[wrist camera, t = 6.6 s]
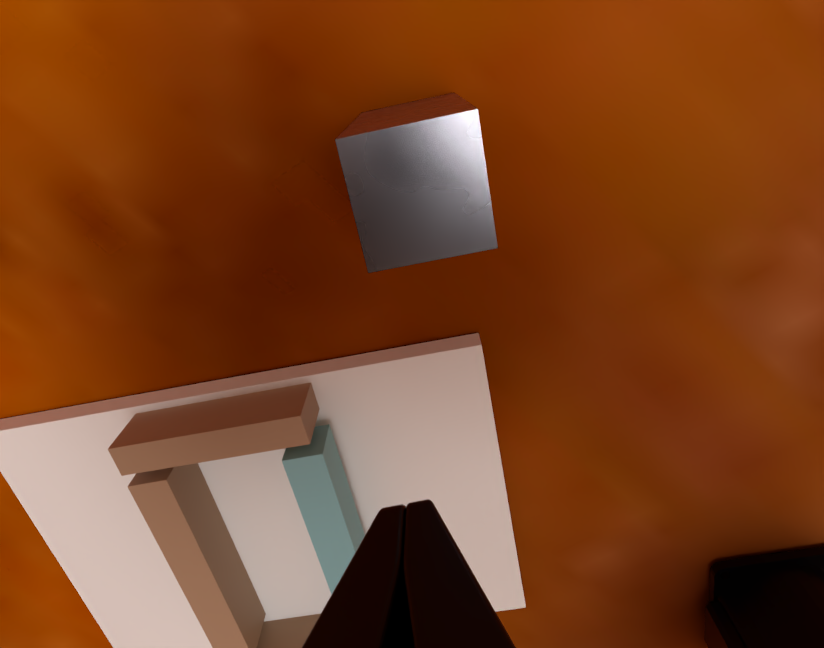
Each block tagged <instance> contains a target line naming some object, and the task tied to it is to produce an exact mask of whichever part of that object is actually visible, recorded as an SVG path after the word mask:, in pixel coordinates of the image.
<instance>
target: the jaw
mask: <svg viewBox="0 0 824 648" xmlns="http://www.w3.org/2000/svg"><path fill="white" fill-rule="evenodd" d="M282 463H283V466H284V469H285V471H286V474H287V477H288V479H289V482H290V485H291V487H292V490H293V493H294V495H295V498H296V501H297V503H298V506H299V509H300V511H301V514H302V517H303V520H304V522H305V525H306V528H307V530H308V533H309V536H310V538H311V541H312V544H313V546H314V549H315V552H316V554H317V557H318V560H319V562H320V565H321V568H322V570H323V573H324V576H325V579H326V581H327V584H328V587H329V589H330V592H331V595H332V593H333V591H334V590H335V588H336V586H337V584H338V582H339V581H340V579H341V577H342V575H343V574H344V572H345V570H346V568H347V567H348V565H349V563H350V561H351V559H352V558H353V556H354V554H355V552H356V551H357V549H358V547H359V545H360V544H361V542H362V540H363V538H364V536H365V534H364V531H363V528H362V525H361V522H360V519H359V516H358V512H357V509H356V506H355V503H354V500H353V497H352V494H351V490H350V487H349V484H348V481H347V478H346V475H345V472H344V468H343V465H342V462H341V459H340V456H339V453H338V449H337V446H336V443H335V440H334V437H333V434H332V431H331V427H330V424H328V425H322V426H316V427H315V428H314V431H313V435H312V439H311V443H310V444H308V445H302V446H296V447H290V448H286V449H285V452H284V455H283V458H282Z"/></svg>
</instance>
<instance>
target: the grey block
mask: <svg viewBox="0 0 824 648" xmlns="http://www.w3.org/2000/svg"><path fill="white" fill-rule="evenodd" d="M335 141H336V145H337V149H338V153H339V157H340V161H341V165H342V169H343V173H344V177H345V181H346V185H347V189H348V193H349V197H350V201H351V205H352V210H353V214H354V218H355V222H356V226H357V230H358V234H359V238H360V242H361V246H362V250H363V254H364V258H365V262H366V266H367V270H368V273H371V272H376V271H381V270H386V269H392V268H397V267H402V266H407V265H412V264H417V263H423V262H428V261H433V260H438V259H443V258H449V257H454V256H459V255H464V254H469V253H474V252H480V251H485V250H490V249H495V248H498V246H497V239H496V233H495V226H494V219H493V212H492V205H491V198H490V191H489V184H488V177H487V170H486V163H485V156H484V149H483V142H482V135H481V128H480V121H479V114H478V109H477V108H476V107H474V106H473V105H471V104H470V103H469V102H467V101H466V100H464V99H463V98H461V97H460V96H458V95H457V94H456V93H449V94H444V95H440V96H435V97H431V98H426V99H421V100H417V101H412V102H408V103H403V104H398V105H394V106H389V107H385V108H380V109H375V110H371V111H366V112H362V113H361V114H360V115H359V116H358V117H357V118H356V119H355V120H354V121H353V122H352V123H351V124H350V125H349V126H348V127H347V128H346V129H345V130H344V131H343V132H342V133H341V134H340V135H339V136H338V137H337V138H336V139H335Z"/></svg>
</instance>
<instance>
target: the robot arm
mask: <svg viewBox="0 0 824 648" xmlns="http://www.w3.org/2000/svg"><path fill="white" fill-rule="evenodd" d="M704 638H705V641H706V643H707V645H708V648H824V547H817V548H810V549H803V550H796V551H789V552H782V553H775V554H768V555H761V556H754V557H746V558H739V559H732V560H725V561H720V562H717V563H715V564H713V565H712V567H711V569H710V589H709V601H708V602H707V604H706V606H705V635H704ZM302 648H516V647H515V646H514V644H513V642H512V640H511V639H510V637H509V635H508V633H507V631H506V630H505V628H504V626H503V624H502V623H501V621H500V619H499V617H498V616H497V614H496V612H495V610H494V609H493V607H492V605H491V603H490V602H489V600H488V598H487V596H486V595H485V593H484V591H483V589H482V588H481V586H480V584H479V582H478V581H477V579H476V577H475V575H474V574H473V572H472V570H471V568H470V567H469V565H468V563H467V561H466V560H465V558H464V556H463V554H462V553H461V551H460V549H459V547H458V546H457V544H456V542H455V540H454V539H453V537H452V535H451V533H450V532H449V530H448V528H447V526H446V525H445V523H444V521H443V519H442V518H441V516H440V514H439V512H438V510H437V509H436V507H435V505H434V503H433V502H432V501H431V500H429V499H426V500H421V501H416V502H410V503H408V504H407V506H405V505H403V504H400V505H395V506H389V507H384V508H382V509H381V510H379V512H378V513H377V515H376V517H375V519H374V521H373V522H372V524H371V526H370V528H369V529H368V531H367V533H366V535H365V536H364V538H363V540H362V542H361V544H360V545H359V547H358V549H357V551H356V552H355V554H354V556H353V558H352V559H351V561H350V563H349V565H348V567H347V568H346V570H345V572H344V574H343V575H342V577H341V579H340V581H339V582H338V584H337V586H336V588H335V590H334V591H333V593H332V595H331V597H330V598H329V600H328V602H327V604H326V605H325V607H324V609H323V611H322V613H321V614H320V616H319V618H318V620H317V621H316V623H315V625H314V627H313V628H312V630H311V632H310V634H309V636H308V637H307V639H306V641H305V643H304V644H303V646H302Z"/></svg>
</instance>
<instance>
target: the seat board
mask: <svg viewBox="0 0 824 648" xmlns="http://www.w3.org/2000/svg"><path fill="white" fill-rule="evenodd" d="M328 424H330V427H331V431H332V434H333V437H334V440H335V443H336V446H337V449H338V453H339V456H340V459H341V462H342V465H343V468H344V472H345V475H346V478H347V481H348V484H349V487H350V490H351V494H352V497H353V500H354V503H355V506H356V509H357V512H358V516H359V519H360V522H361V525H362V528H363V531H364V534H365V535H366V533H367V531H368V529H369V528H370V526H371V524H372V522H373V521H374V519H375V517H376V515H377V513H378V512H379V510H381V509H382V508H384V507H389V506H395V505H400V504H403V505H405V506H407V504H408V503H410V502H416V501H421V500H426V499H429V500H431V501H432V502H433V503H434V505H435V507H436V509H437V510H438V512H439V514H440V516H441V518H442V519H443V521H444V523H445V525H446V526H447V528H448V530H449V532H450V533H451V535H452V537H453V539H454V540H455V542H456V544H457V546H458V547H459V549H460V551H461V553H462V554H463V556H464V558H465V560H466V561H467V563H468V565H469V567H470V568H471V570H472V572H473V574H474V575H475V577H476V579H477V581H478V582H479V584H480V586H481V588H482V589H483V591H484V593H485V595H486V596H487V598H488V600H489V602H490V603H491V605H492V607H493V609H494V610H495V612H497V611H504V610H511V609H519V608H526V605H525V599H524V593H523V587H522V581H521V575H520V569H519V563H518V558H517V552H516V546H515V540H514V534H513V528H512V522H511V516H510V510H509V504H508V498H507V492H506V486H505V481H504V475H503V469H502V463H501V457H500V451H499V445H498V439H497V433H496V427H495V421H494V415H493V409H492V403H491V398H490V392H489V386H488V380H487V374H486V368H485V362H484V356H483V350H482V344H481V340H480V336H479V333H475V334H469V335H463V336H458V337H452V338H447V339H441V340H436V341H430V342H425V343H419V344H414V345H408V346H403V347H397V348H391V349H386V350H380V351H375V352H369V353H364V354H358V355H353V356H347V357H342V358H336V359H331V360H325V361H320V362H314V363H308V364H303V365H297V366H292V367H286V368H281V369H275V370H270V371H264V372H259V373H253V374H248V375H242V376H236V377H231V378H225V379H220V380H214V381H209V382H203V383H198V384H192V385H187V386H181V387H176V388H170V389H165V390H159V391H153V392H148V393H142V394H137V395H131V396H126V397H120V398H115V399H109V400H104V401H98V402H93V403H87V404H81V405H76V406H70V407H65V408H59V409H54V410H48V411H43V412H37V413H32V414H26V415H21V416H15V417H9V418H4V419H0V471H1V473H2V475H3V476H4V478H5V479H6V481H7V482H8V484H9V486H10V487H11V489H12V490H13V492H14V493H15V495H16V496H17V498H18V500H19V501H20V503H21V504H22V506H23V507H24V509H25V510H26V512H27V514H28V515H29V517H30V518H31V520H32V521H33V523H34V525H35V526H36V528H37V529H38V531H39V532H40V534H41V535H42V537H43V539H44V540H45V542H46V543H47V545H48V546H49V548H50V549H51V551H52V553H53V554H54V556H55V557H56V559H57V560H58V562H59V564H60V565H61V567H62V568H63V570H64V571H65V573H66V574H67V576H68V578H69V579H70V581H71V582H72V584H73V585H74V587H75V589H76V590H77V592H78V593H79V595H80V596H81V598H82V599H83V601H84V603H85V604H86V606H87V607H88V609H89V610H90V612H91V613H92V615H93V617H94V618H95V620H96V621H97V623H98V624H99V626H100V628H101V629H102V631H103V632H104V634H105V635H106V637H107V638H108V640H109V642H110V643H111V645H112V646H113V648H302V646H303V644H304V643H305V641H306V639H307V637H308V636H309V634H310V632H311V630H312V628H313V627H314V625H315V623H316V621H317V620H318V618H319V616H320V614H321V613H322V611H323V609H324V607H325V605H326V604H327V602H328V600H329V598H330V597H331V592H330V589H329V587H328V584H327V581H326V579H325V576H324V573H323V570H322V568H321V565H320V562H319V560H318V557H317V554H316V552H315V549H314V546H313V544H312V541H311V538H310V536H309V533H308V530H307V528H306V525H305V522H304V520H303V517H302V514H301V511H300V509H299V506H298V503H297V501H296V498H295V495H294V493H293V490H292V487H291V485H290V482H289V479H288V477H287V474H286V471H285V469H284V466H283V463H282V458H283V455H284V452H285V449H286V448H290V447H296V446H302V445H308V444H310V443H311V439H312V435H313V431H314V428H315V427H316V426H322V425H328Z"/></svg>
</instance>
